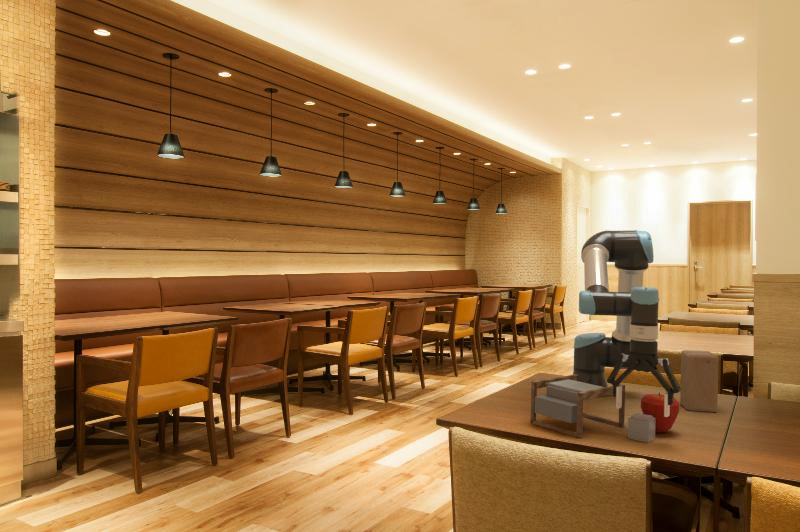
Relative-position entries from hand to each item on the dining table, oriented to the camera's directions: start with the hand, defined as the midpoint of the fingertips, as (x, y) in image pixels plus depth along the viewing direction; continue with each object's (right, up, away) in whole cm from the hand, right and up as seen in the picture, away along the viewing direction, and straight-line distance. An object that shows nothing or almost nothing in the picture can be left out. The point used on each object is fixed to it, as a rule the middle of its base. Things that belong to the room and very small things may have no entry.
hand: (642, 412), depth 171 cm
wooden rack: (-15, -7, +13) cm, 21 cm away
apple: (+8, -8, +7) cm, 13 cm away
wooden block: (+35, -8, +36) cm, 51 cm away
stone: (0, -8, 0) cm, 8 cm away
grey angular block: (-18, -3, +11) cm, 21 cm away
